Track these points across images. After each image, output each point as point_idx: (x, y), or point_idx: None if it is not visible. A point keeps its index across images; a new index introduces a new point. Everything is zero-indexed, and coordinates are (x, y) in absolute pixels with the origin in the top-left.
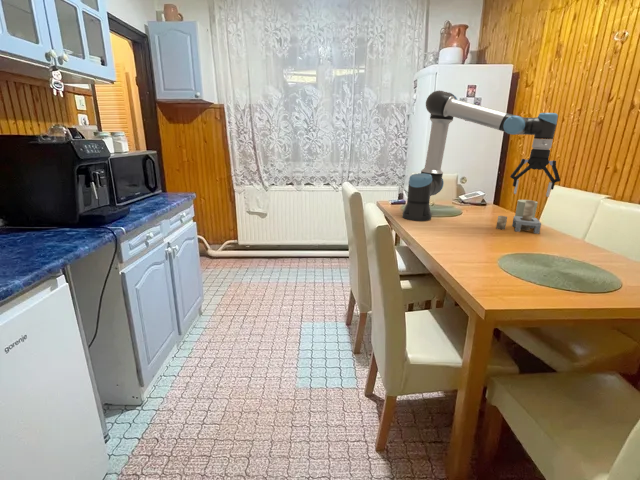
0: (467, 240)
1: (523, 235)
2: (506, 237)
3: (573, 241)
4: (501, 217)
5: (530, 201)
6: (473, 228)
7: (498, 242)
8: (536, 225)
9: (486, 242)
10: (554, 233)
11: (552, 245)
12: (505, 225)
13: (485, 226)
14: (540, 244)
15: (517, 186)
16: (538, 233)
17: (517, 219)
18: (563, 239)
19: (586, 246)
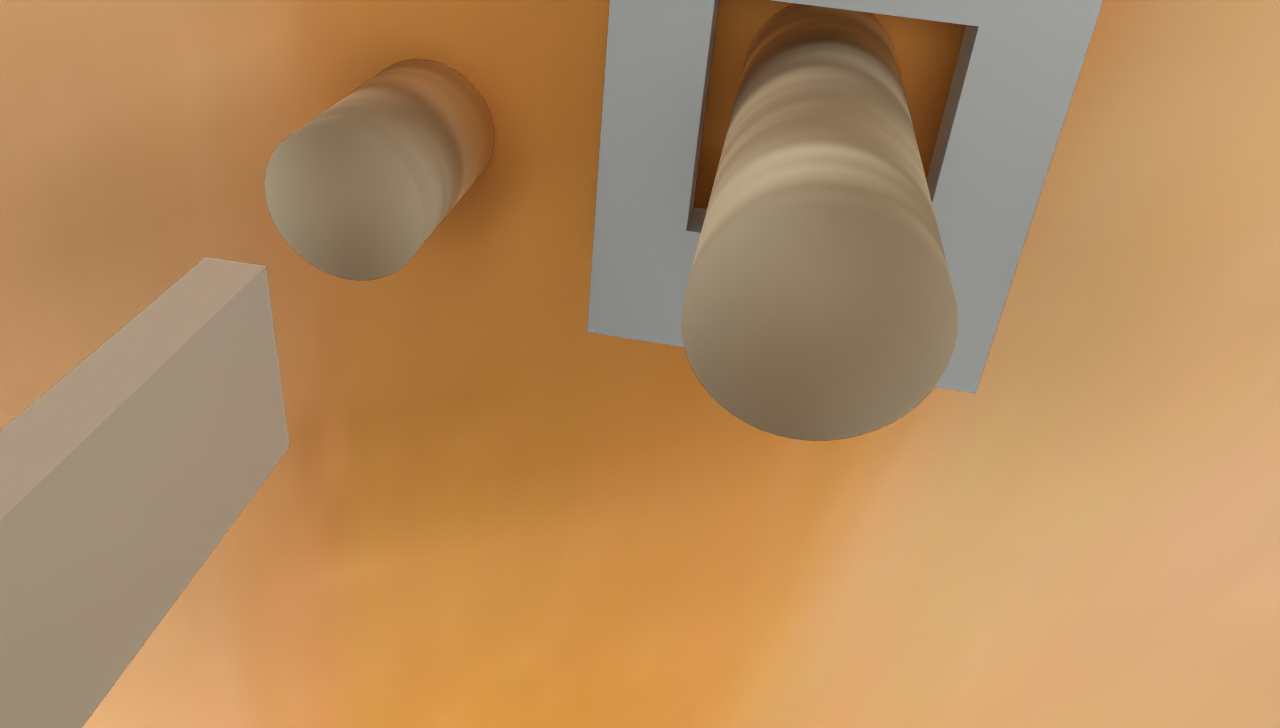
0: (126, 691)
1: (685, 433)
2: (465, 551)
3: (1259, 561)
4: (324, 269)
5: (800, 368)
6: (75, 246)
7: (378, 705)
8: None
9: (280, 718)
10: (1257, 207)
11: (879, 720)
12: (465, 192)
13: (205, 60)
14: (764, 708)
15: (129, 658)
16: None
17: (624, 189)
18: (1173, 503)
19: (1276, 706)
